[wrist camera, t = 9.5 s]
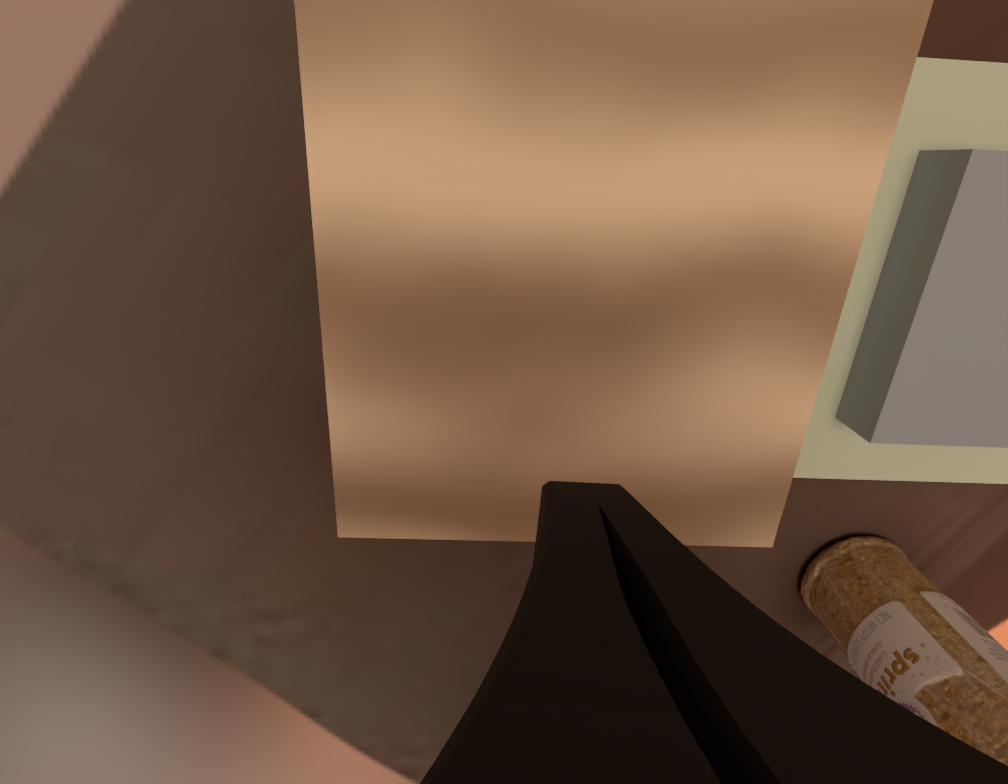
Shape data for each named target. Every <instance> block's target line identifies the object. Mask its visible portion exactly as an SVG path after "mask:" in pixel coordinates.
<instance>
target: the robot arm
mask: <svg viewBox="0 0 1008 784" xmlns="http://www.w3.org/2000/svg"><path fill="white" fill-rule="evenodd" d="M420 784H1008V766H1007V765H1005V764H1003V763H1001V762H999V761H997V760H996V759H994V758H992V757H990V756H988V755H986V754H985V753H983V752H981V751H979V750H977V749H975V748H974V747H972V746H970V745H968V744H966V743H964V742H963V741H961V740H959V739H957V738H956V737H954V736H952V735H951V734H949V733H947V732H945V731H944V730H942V729H940V728H938V727H937V726H935V725H933V724H931V723H930V722H928V721H926V720H925V719H923V718H921V717H919V716H918V715H916V714H914V713H913V712H911V711H909V710H908V709H906V708H905V707H903V706H901V705H900V704H898V703H897V702H895V701H893V700H892V699H890V698H888V697H887V696H885V695H884V694H882V693H880V692H879V691H877V690H876V689H874V688H872V687H871V686H869V685H868V684H866V683H864V682H863V681H861V680H860V679H858V678H856V677H855V676H853V675H852V674H850V673H849V672H847V671H846V670H844V669H843V668H841V667H840V666H838V665H837V664H835V663H834V662H832V661H830V660H829V659H827V658H826V657H825V656H823V655H822V654H820V653H819V652H817V651H816V650H815V649H813V648H812V647H810V646H809V645H808V644H806V643H805V642H803V641H802V640H801V639H799V638H798V637H796V636H795V635H794V634H792V633H791V632H789V631H788V630H787V629H785V628H784V627H782V626H781V625H780V624H778V623H777V622H775V621H774V620H773V619H771V618H770V617H769V616H768V615H766V614H765V613H764V612H762V611H761V610H760V609H758V608H757V607H756V606H755V605H753V604H752V603H751V602H750V601H748V600H747V599H746V598H745V597H743V596H742V595H741V594H740V593H739V592H737V591H736V590H735V589H734V588H733V587H731V586H730V585H729V584H728V583H726V582H725V581H724V580H723V579H722V578H720V577H719V576H718V575H717V574H716V573H715V572H713V571H712V570H711V569H710V568H709V567H708V566H707V565H705V564H704V563H703V562H702V561H701V560H700V559H699V558H697V557H696V556H695V555H694V554H693V553H692V552H691V551H690V550H689V549H688V548H686V547H685V546H684V545H683V544H682V543H681V542H680V541H679V540H678V539H677V538H676V537H675V536H674V535H673V534H671V533H670V532H669V531H668V530H667V529H666V528H665V527H664V526H663V525H662V524H661V523H660V522H659V521H658V520H657V519H656V518H655V517H654V516H653V515H652V514H651V513H650V512H649V511H648V510H646V509H645V508H644V507H643V506H642V505H641V504H640V503H639V502H638V501H637V500H636V499H635V498H634V497H633V496H632V495H631V494H630V493H629V492H628V491H627V490H626V489H624V488H623V487H622V486H621V485H620V484H607V483H586V482H565V481H548V482H547V483H546V484H544V485H543V486H542V491H541V500H540V509H539V517H538V526H537V534H536V543H535V551H534V560H533V567H532V570H531V573H530V576H529V579H528V582H527V585H526V588H525V591H524V594H523V597H522V599H521V602H520V604H519V607H518V609H517V612H516V614H515V616H514V619H513V621H512V623H511V625H510V628H509V630H508V632H507V634H506V637H505V639H504V641H503V643H502V645H501V647H500V649H499V651H498V653H497V655H496V657H495V659H494V661H493V663H492V665H491V667H490V669H489V671H488V673H487V675H486V677H485V678H484V680H483V682H482V684H481V686H480V688H479V689H478V691H477V693H476V695H475V697H474V698H473V700H472V702H471V704H470V705H469V707H468V709H467V710H466V712H465V713H464V715H463V717H462V718H461V720H460V721H459V723H458V725H457V726H456V728H455V730H454V731H453V733H452V734H451V736H450V738H449V739H448V741H447V743H446V744H445V746H444V747H443V749H442V751H441V752H440V754H439V756H438V757H437V759H436V760H435V762H434V763H433V765H432V766H431V768H430V769H429V771H428V772H427V774H426V775H425V777H424V778H423V780H422V781H421V783H420Z"/></svg>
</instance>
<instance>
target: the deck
mask: <svg viewBox="0 0 1008 784" xmlns="http://www.w3.org/2000/svg"><path fill="white" fill-rule="evenodd" d="M933 1H934V0H294V2H295V15H296V27H297V39H298V52H299V64H300V76H301V89H302V101H303V113H304V126H305V138H306V150H307V163H308V175H309V187H310V199H311V212H312V224H313V236H314V249H315V261H316V273H317V286H318V298H319V310H320V323H321V335H322V347H323V360H324V372H325V384H326V397H327V409H328V421H329V433H330V446H331V458H332V470H333V483H334V495H335V507H336V520H337V532H338V537H349V538H392V539H435V540H479V541H522V542H536V534H537V526H538V517H539V509H540V500H541V491H542V486H543V485H544V484H546V483H547V482H548V481H565V482H586V483H607V484H620V485H621V486H622V487H623V488H624V489H626V490H627V491H628V492H629V493H630V494H631V495H632V496H633V497H634V498H635V499H636V500H637V501H638V502H639V503H640V504H641V505H642V506H643V507H644V508H645V509H646V510H648V511H649V512H650V513H651V514H652V515H653V516H654V517H655V518H656V519H657V520H658V521H659V522H660V523H661V524H662V525H663V526H664V527H665V528H666V529H667V530H668V531H669V532H670V533H671V534H673V535H674V536H675V537H676V538H677V539H678V540H679V541H680V542H681V543H682V544H683V545H694V546H738V547H772V546H773V543H774V539H775V536H776V533H777V529H778V526H779V523H780V519H781V516H782V512H783V509H784V506H785V502H786V499H787V495H788V492H789V489H790V485H791V482H792V478H793V475H794V472H795V468H796V465H797V462H798V458H799V455H800V451H801V448H802V445H803V441H804V438H805V434H806V431H807V428H808V424H809V421H810V418H811V414H812V411H813V407H814V404H815V401H816V397H817V394H818V390H819V387H820V384H821V380H822V377H823V373H824V370H825V367H826V363H827V360H828V357H829V353H830V350H831V346H832V343H833V340H834V336H835V333H836V329H837V326H838V323H839V319H840V316H841V312H842V309H843V306H844V302H845V299H846V296H847V292H848V289H849V285H850V282H851V279H852V275H853V272H854V268H855V265H856V262H857V258H858V255H859V251H860V248H861V245H862V241H863V238H864V235H865V231H866V228H867V224H868V221H869V218H870V214H871V211H872V207H873V204H874V201H875V197H876V194H877V191H878V187H879V184H880V180H881V177H882V174H883V170H884V167H885V163H886V160H887V157H888V153H889V150H890V146H891V143H892V140H893V136H894V133H895V130H896V126H897V123H898V119H899V116H900V113H901V109H902V106H903V102H904V99H905V96H906V92H907V89H908V85H909V82H910V79H911V75H912V72H913V69H914V65H915V62H916V58H917V55H918V52H919V48H920V45H921V41H922V38H923V35H924V31H925V28H926V24H927V21H928V18H929V14H930V11H931V8H932V4H933Z"/></svg>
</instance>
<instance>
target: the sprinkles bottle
mask: <svg viewBox="0 0 1008 784" xmlns="http://www.w3.org/2000/svg"><path fill="white" fill-rule="evenodd" d="M800 592H801V595H802V597H803V600H804V602H805V604H806V606H807V607H808V608H809V610H810V611H811V612H812V613H813V614H814V615H815V616H816V617H818V618H819V619H820V621H821V622H822V623H823V624H824V626H825V627H826V629H827V630H828V632H829V633H830V635H831V636H832V637H833V638H834V640H835V641H836V642H837V643H838V645H839V646H840V648H841V649H842V651H843V652H844V653H845V655H846V656H847V657H848V659H849V662H850V664H851V666H852V668H853V669H854V670H855V672H856V673H857V675H858V676H859V677H860V679H861V680H862V681H863V682H864V683H866V684H868V685H869V686H871V687H872V688H874V689H876V690H877V691H879V692H880V693H882V694H884V695H885V696H887V697H888V698H890V699H892V700H893V701H895V702H897V703H898V704H900V705H901V706H903V707H905V708H906V709H908V710H909V711H911V712H913V713H914V714H916V715H918V716H919V717H921V718H923V719H925V720H926V721H928V722H930V723H931V724H933V725H935V726H937V727H938V728H940V729H942V730H944V731H945V732H947V733H949V734H951V735H952V736H954V737H956V738H957V739H959V740H961V741H963V742H964V743H966V744H968V745H970V746H972V747H974V748H975V749H977V750H979V751H981V752H983V753H985V754H986V755H988V756H990V757H992V758H994V759H996V760H997V761H999V762H1001V763H1003V764H1005V765H1007V766H1008V651H1007V650H1006V649H1005V648H1004V647H1003V646H1002V645H1000V644H999V643H998V642H997V641H996V640H995V639H994V638H993V637H992V636H991V635H990V634H989V633H988V632H987V631H986V630H985V629H983V628H982V627H981V626H980V625H979V624H978V623H977V622H976V621H975V620H974V619H973V618H972V617H971V616H969V615H968V614H967V613H966V612H965V611H964V610H963V609H962V608H961V607H960V606H959V605H958V604H957V603H955V602H954V601H953V600H951V599H950V598H948V597H947V596H945V595H944V594H943V593H942V592H940V591H939V590H938V589H937V588H936V587H935V586H934V585H933V584H932V583H931V582H930V581H929V580H928V579H927V578H925V577H924V576H923V575H922V573H921V572H920V571H919V570H918V569H917V568H916V567H915V566H913V565H912V564H911V563H910V562H909V561H908V559H907V556H906V555H905V553H904V552H903V551H902V550H901V549H900V548H899V547H897V546H896V545H894V544H893V543H892V542H890V541H888V540H885V539H882V538H878V537H850V538H848V539H846V540H844V541H839V542H837V543H835V544H834V545H833V546H831V547H828V548H827V549H826V550H824V551H822V552H821V553H820V554H819V555H818V556H817V557H816V558H815V559H813V560H812V562H811V563H810V564H809V566H808V567H807V569H806V572H805V574H804V576H803V579H802V581H801V590H800Z"/></svg>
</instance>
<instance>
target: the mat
mask: <svg viewBox="0 0 1008 784" xmlns="http://www.w3.org/2000/svg"><path fill="white" fill-rule="evenodd" d="M960 149H979V150H995V151H1008V63H996V62H981V61H966V60H951V59H936V58H920V57H917V58H916V62H915V65H914V69H913V72H912V75H911V79H910V82H909V85H908V89H907V92H906V96H905V99H904V102H903V106H902V109H901V113H900V116H899V119H898V123H897V126H896V130H895V133H894V136H893V140H892V143H891V146H890V150H889V153H888V157H887V160H886V163H885V167H884V170H883V174H882V177H881V180H880V184H879V187H878V191H877V194H876V197H875V201H874V204H873V207H872V211H871V214H870V218H869V221H868V224H867V228H866V231H865V235H864V238H863V241H862V245H861V248H860V251H859V255H858V258H857V262H856V265H855V268H854V272H853V275H852V279H851V282H850V285H849V289H848V292H847V296H846V299H845V302H844V306H843V309H842V312H841V316H840V319H839V323H838V326H837V329H836V333H835V336H834V340H833V343H832V346H831V350H830V353H829V357H828V360H827V363H826V367H825V370H824V373H823V377H822V380H821V384H820V387H819V390H818V394H817V397H816V401H815V404H814V407H813V411H812V414H811V418H810V421H809V424H808V428H807V431H806V434H805V438H804V441H803V445H802V448H801V451H800V455H799V458H798V462H797V465H796V468H795V472H794V475H793V478H824V479H859V480H893V481H927V482H961V483H996V484H1008V448H997V447H967V446H937V445H907V444H877V443H869V442H868V441H866V440H865V439H864V438H862V437H861V436H860V435H858V434H857V433H856V432H854V431H853V430H852V429H850V428H849V427H847V426H846V425H845V424H843V423H842V422H841V421H839V420H838V419H837V418H835V417H836V413H837V410H838V407H839V404H840V401H841V398H842V394H843V391H844V388H845V385H846V382H847V379H848V375H849V372H850V369H851V366H852V363H853V360H854V356H855V353H856V350H857V347H858V344H859V341H860V337H861V334H862V331H863V328H864V325H865V321H866V318H867V315H868V312H869V309H870V306H871V302H872V299H873V296H874V293H875V290H876V287H877V283H878V280H879V277H880V274H881V271H882V268H883V264H884V261H885V258H886V255H887V252H888V249H889V245H890V242H891V239H892V236H893V233H894V230H895V226H896V223H897V220H898V217H899V214H900V211H901V207H902V204H903V201H904V198H905V195H906V192H907V188H908V185H909V182H910V179H911V176H912V173H913V169H914V166H915V163H916V160H917V157H918V154H919V150H960Z"/></svg>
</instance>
